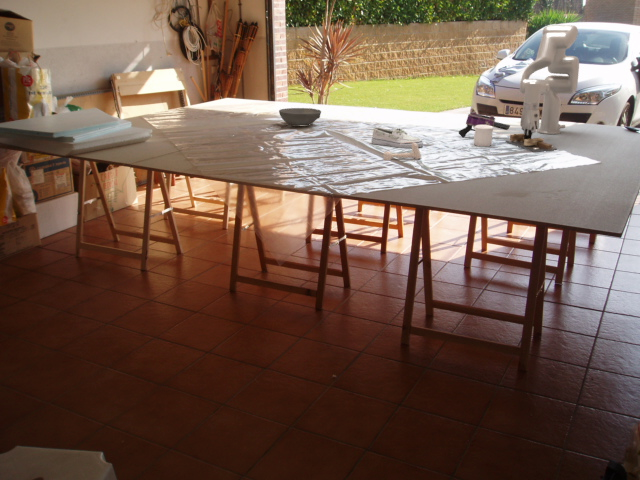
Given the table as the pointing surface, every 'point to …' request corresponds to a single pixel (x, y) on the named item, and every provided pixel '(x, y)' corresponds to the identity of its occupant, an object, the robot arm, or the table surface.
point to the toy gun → (481, 123)
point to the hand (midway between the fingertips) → (527, 142)
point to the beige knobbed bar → (415, 153)
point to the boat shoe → (394, 138)
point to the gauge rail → (521, 138)
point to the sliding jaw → (532, 141)
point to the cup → (483, 135)
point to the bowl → (299, 115)
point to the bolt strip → (531, 147)
